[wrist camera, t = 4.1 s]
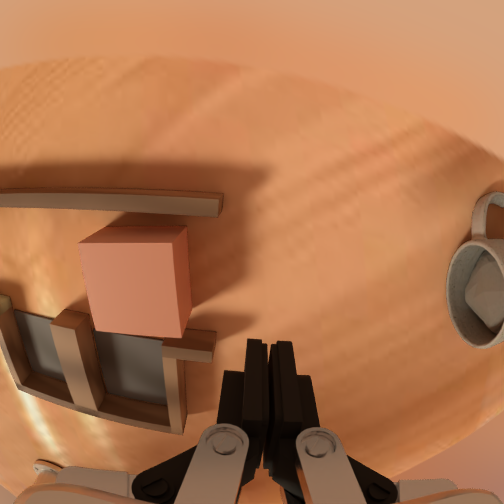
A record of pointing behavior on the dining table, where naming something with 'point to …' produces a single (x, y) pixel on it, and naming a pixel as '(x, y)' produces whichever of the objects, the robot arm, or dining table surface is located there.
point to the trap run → (108, 344)
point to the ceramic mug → (478, 282)
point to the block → (138, 279)
